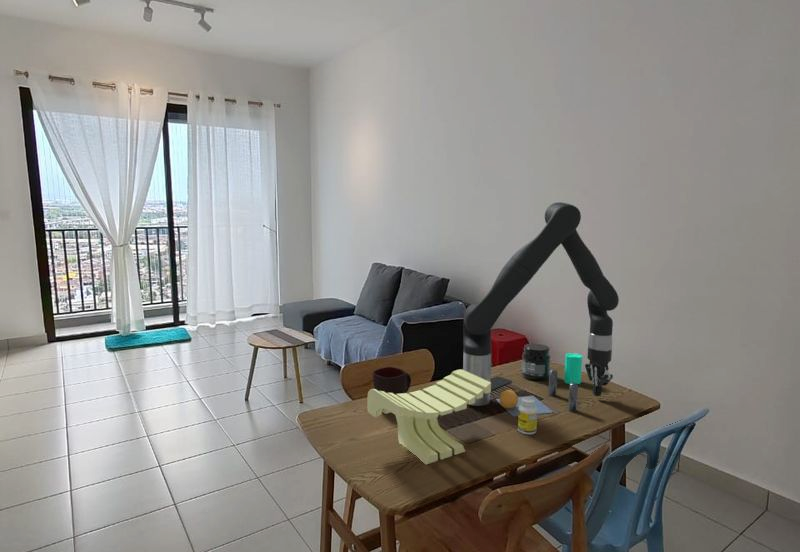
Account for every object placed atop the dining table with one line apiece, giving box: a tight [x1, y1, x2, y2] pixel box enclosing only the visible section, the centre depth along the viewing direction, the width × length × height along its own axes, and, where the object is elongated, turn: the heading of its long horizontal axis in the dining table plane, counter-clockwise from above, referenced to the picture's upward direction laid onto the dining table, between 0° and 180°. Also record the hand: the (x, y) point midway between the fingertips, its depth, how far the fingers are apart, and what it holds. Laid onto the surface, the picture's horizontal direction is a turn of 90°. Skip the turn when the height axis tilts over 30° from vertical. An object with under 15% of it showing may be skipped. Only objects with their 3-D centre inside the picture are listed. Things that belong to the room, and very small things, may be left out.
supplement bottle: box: [517, 396, 538, 435], centre depth 144 cm, size 5×5×10 cm
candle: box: [563, 352, 583, 385], centre depth 184 cm, size 6×6×12 cm
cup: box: [372, 366, 412, 395], centre depth 162 cm, size 10×14×12 cm
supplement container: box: [521, 343, 552, 382], centre depth 190 cm, size 10×10×12 cm
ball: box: [498, 389, 519, 409], centre depth 161 cm, size 6×6×6 cm
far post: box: [548, 368, 558, 398], centre depth 172 cm, size 3×3×9 cm
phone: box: [490, 376, 513, 392], centre depth 183 cm, size 7×1×15 cm
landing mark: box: [495, 395, 554, 417], centre depth 163 cm, size 14×14×1 cm
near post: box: [567, 382, 579, 413], centre depth 159 cm, size 3×3×9 cm
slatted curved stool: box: [366, 368, 492, 465], centre depth 135 cm, size 30×16×18 cm, turn 122°
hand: (596, 395), depth 168 cm, fingers closed
